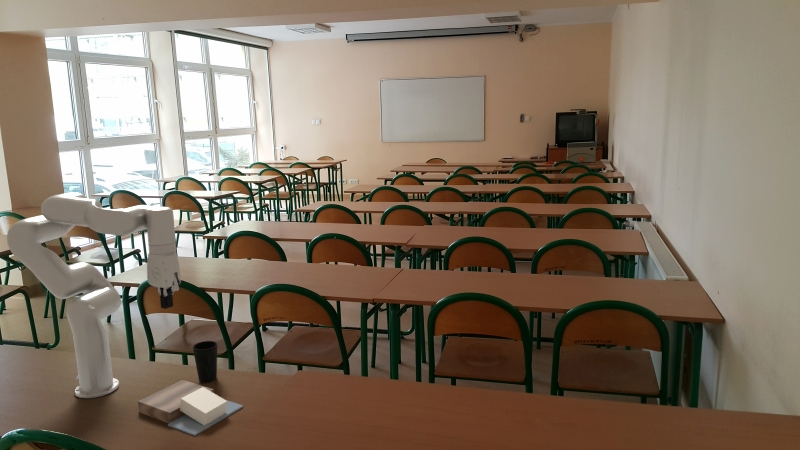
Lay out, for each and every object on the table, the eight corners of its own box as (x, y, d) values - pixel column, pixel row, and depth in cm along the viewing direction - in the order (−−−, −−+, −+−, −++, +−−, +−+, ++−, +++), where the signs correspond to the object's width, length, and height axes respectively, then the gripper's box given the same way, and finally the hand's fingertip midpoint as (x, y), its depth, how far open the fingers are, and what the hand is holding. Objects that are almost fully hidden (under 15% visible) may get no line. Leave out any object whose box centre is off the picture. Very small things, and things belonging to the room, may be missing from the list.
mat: (167, 425, 163) (167, 424, 163) (217, 398, 178) (217, 397, 178) (194, 436, 157) (194, 434, 157) (243, 407, 172) (243, 405, 172)
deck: (139, 412, 170) (137, 401, 170) (183, 389, 184) (182, 379, 183) (170, 424, 164) (169, 412, 163) (214, 400, 177) (213, 389, 176)
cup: (212, 385, 187) (209, 350, 184) (191, 383, 188) (188, 349, 186) (224, 375, 194) (221, 341, 192) (203, 373, 196) (200, 340, 193)
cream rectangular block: (180, 410, 166) (180, 398, 165) (202, 398, 173) (203, 387, 172) (204, 425, 161) (205, 413, 160) (226, 412, 168) (227, 401, 167)
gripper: (135, 248, 173) (140, 306, 176) (168, 254, 165) (173, 315, 169) (157, 243, 179) (161, 300, 183) (189, 249, 172) (193, 308, 175)
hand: (167, 307), depth 176 cm, fingers closed
